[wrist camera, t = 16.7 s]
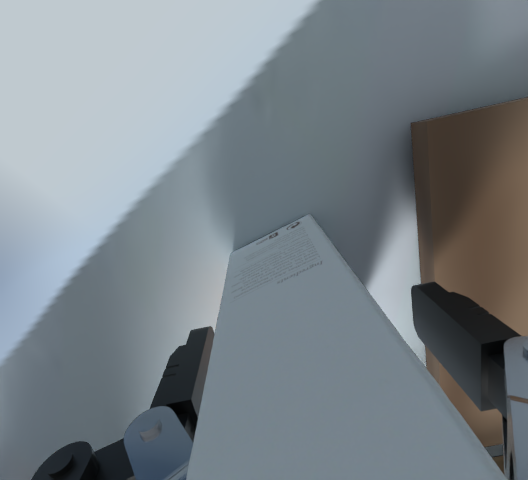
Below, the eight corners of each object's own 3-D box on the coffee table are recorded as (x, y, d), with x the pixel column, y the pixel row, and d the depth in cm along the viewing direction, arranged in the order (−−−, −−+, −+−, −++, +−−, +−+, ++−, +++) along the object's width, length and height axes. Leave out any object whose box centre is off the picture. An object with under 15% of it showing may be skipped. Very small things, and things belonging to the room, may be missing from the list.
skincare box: (226, 252, 14) (125, 662, 3) (309, 210, 14) (557, 512, 3) (284, 350, 16) (357, 849, 5) (360, 315, 16) (644, 778, 4)
